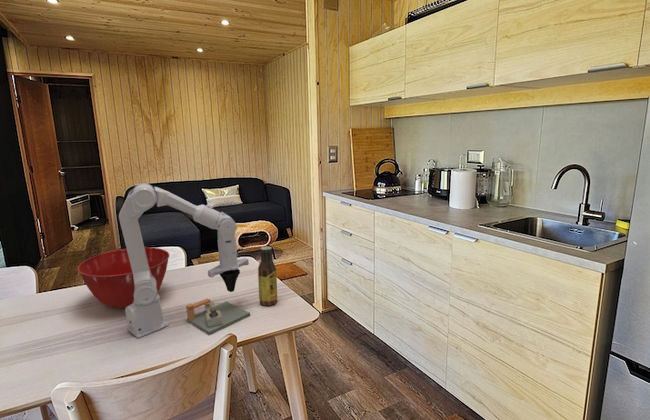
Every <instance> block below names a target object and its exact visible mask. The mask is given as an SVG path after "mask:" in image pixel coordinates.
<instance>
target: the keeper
mask: <svg viewBox="0 0 650 420" xmlns="http://www.w3.org/2000/svg"><path fill="white" fill-rule="evenodd" d="M211 301H212V300H211V299H209V298H205V299H203V300H199V301H198V302H194V303H189V304H186V305H185V306H186V309H185V310H186V315H187V317H186V318H188V319H189V320H193V319H195V309H197V308H200V307H202V306H205V304H207V303H210V302H211Z"/></svg>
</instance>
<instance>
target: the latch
mask: <svg viewBox="0 0 650 420" xmlns="http://www.w3.org/2000/svg"><path fill="white" fill-rule="evenodd" d="M212 307H216V303H215V300H213V301H212V300H211V302H210V303H207V304H205V305H204V310H205V311H206V313H205V316H206V323H207V326H208V327H211V326H215V325H220V324H223V320H222V315H221V312H220V310H218V311H217V310H216V316H214V317H211V312H210V308H212Z"/></svg>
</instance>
